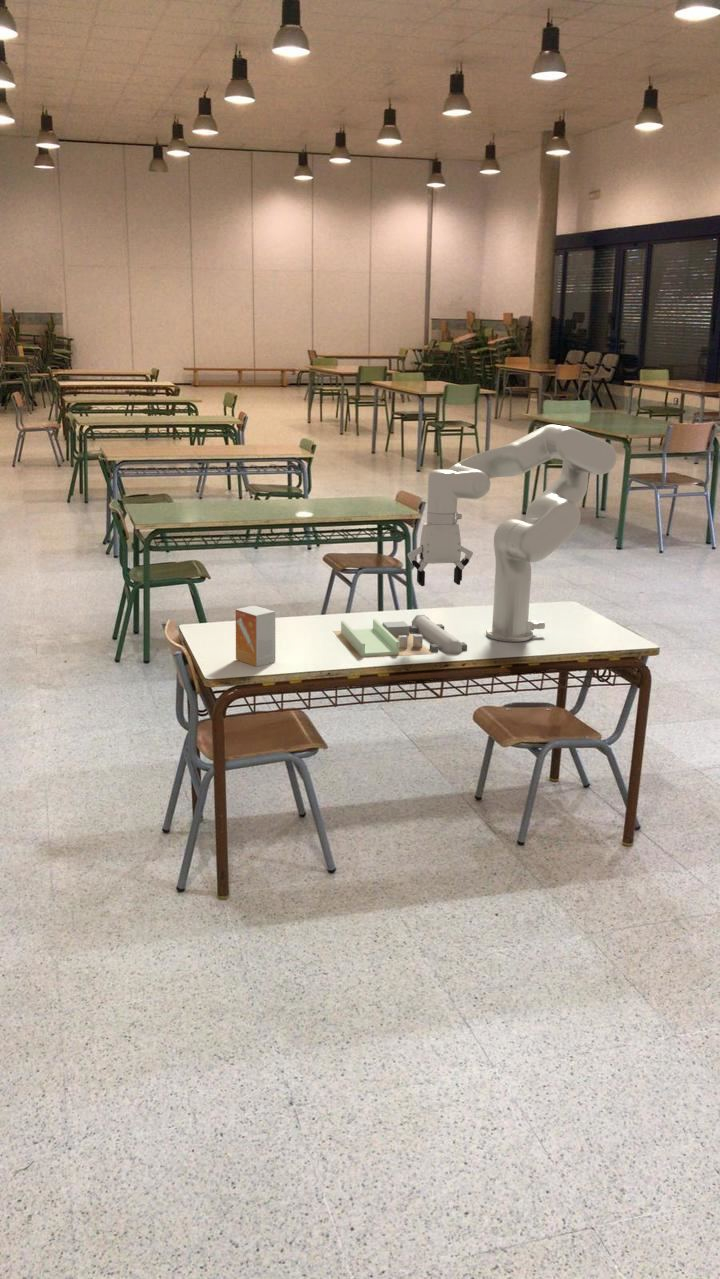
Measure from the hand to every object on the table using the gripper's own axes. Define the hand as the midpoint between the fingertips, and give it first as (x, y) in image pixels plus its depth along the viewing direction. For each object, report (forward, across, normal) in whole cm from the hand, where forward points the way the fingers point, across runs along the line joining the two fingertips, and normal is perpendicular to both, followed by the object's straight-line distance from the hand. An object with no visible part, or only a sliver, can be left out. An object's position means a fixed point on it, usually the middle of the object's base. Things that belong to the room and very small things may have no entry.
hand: (439, 584), depth 281 cm
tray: (+15, +18, 0) cm, 24 cm away
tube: (+17, 0, 0) cm, 17 cm away
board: (+16, +15, 0) cm, 22 cm away
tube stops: (+16, 0, 0) cm, 16 cm away
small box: (+16, +49, +6) cm, 52 cm away
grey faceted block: (+15, +9, -8) cm, 19 cm away
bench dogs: (+15, +9, +5) cm, 18 cm away
